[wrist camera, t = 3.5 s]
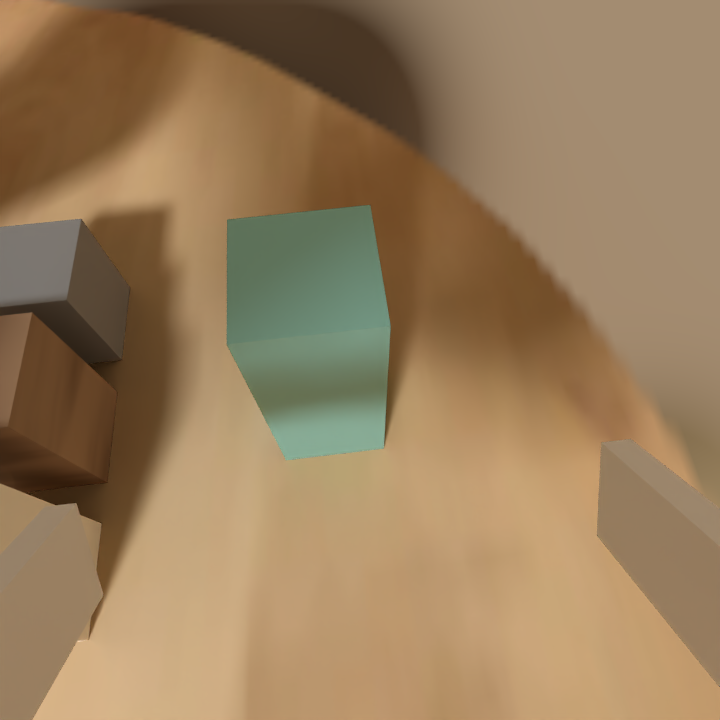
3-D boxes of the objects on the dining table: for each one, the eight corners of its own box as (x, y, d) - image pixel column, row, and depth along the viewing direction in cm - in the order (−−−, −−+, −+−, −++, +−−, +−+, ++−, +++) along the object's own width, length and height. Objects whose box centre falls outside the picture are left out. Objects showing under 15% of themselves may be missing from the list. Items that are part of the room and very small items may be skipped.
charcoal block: (32, 370, 29) (-44, 311, 24) (47, 297, 31) (-19, 228, 26) (122, 360, 29) (66, 300, 24) (130, 288, 32) (81, 218, 26)
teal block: (286, 460, 26) (226, 344, 16) (281, 372, 29) (227, 219, 18) (383, 448, 26) (390, 325, 16) (371, 362, 29) (370, 204, 18)
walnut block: (6, 494, 26) (-133, 442, 19) (24, 402, 28) (-93, 326, 21) (107, 482, 26) (7, 426, 19) (117, 392, 28) (32, 312, 21)
